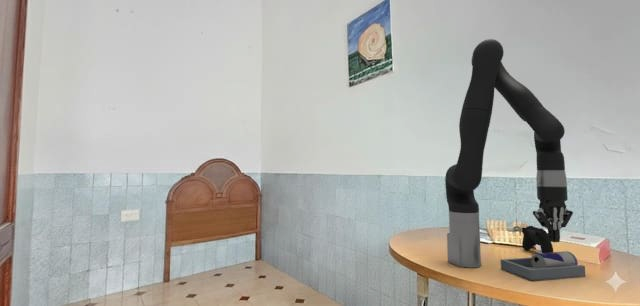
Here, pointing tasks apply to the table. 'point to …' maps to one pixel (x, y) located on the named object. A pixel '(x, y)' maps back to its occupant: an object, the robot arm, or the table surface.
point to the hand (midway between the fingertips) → (554, 241)
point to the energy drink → (553, 259)
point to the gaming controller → (536, 239)
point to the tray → (540, 270)
